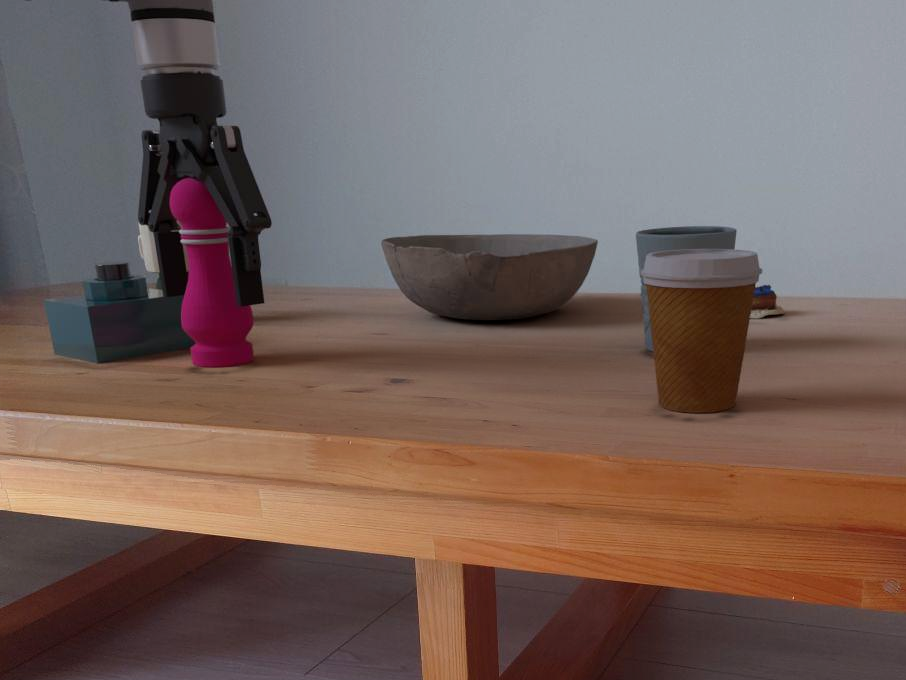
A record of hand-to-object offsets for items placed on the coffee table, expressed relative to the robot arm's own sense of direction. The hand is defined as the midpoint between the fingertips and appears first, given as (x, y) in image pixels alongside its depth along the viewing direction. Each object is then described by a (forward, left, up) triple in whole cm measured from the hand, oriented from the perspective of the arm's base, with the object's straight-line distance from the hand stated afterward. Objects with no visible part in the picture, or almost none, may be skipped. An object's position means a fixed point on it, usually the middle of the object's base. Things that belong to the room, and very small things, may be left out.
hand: (212, 300), depth 104 cm
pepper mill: (0, 0, -7) cm, 7 cm away
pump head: (-2, +16, +1) cm, 16 cm away
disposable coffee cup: (+12, -51, -7) cm, 53 cm away
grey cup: (+33, -36, -7) cm, 49 cm away
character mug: (+13, +29, -7) cm, 32 cm away
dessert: (+57, -31, -7) cm, 65 cm away
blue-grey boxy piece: (-2, +16, -6) cm, 17 cm away
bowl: (+40, -2, -7) cm, 40 cm away
